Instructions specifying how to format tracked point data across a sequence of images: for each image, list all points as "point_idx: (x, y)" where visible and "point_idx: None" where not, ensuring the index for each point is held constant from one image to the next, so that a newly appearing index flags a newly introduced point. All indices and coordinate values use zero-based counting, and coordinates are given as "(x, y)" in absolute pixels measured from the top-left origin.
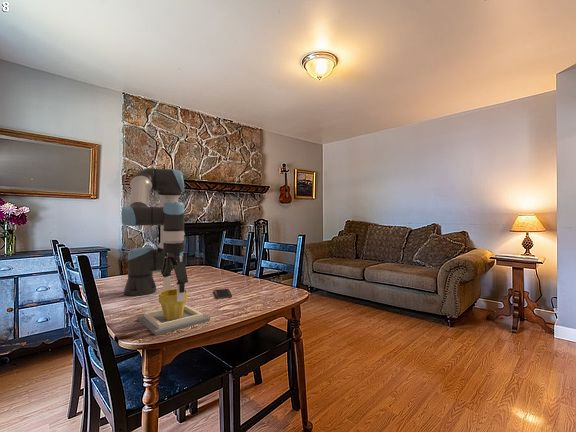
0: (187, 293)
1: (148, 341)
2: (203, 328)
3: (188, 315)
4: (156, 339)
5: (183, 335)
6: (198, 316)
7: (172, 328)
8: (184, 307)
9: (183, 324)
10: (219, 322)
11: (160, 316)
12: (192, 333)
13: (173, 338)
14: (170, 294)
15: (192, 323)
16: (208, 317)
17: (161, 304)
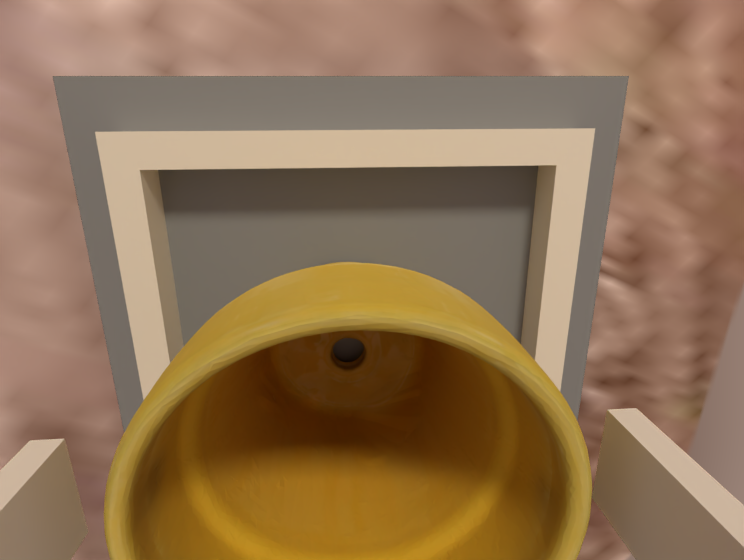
0: (480, 319)
1: (610, 548)
2: (715, 216)
3: (397, 213)
4: None
5: (702, 378)
6: (580, 186)
7: (575, 415)
8: (167, 168)
9: (581, 336)
10: (722, 25)
11: None
12: (725, 320)
13: (690, 439)
14: (164, 460)
15: (596, 261)
16: (602, 78)
17: (353, 544)
